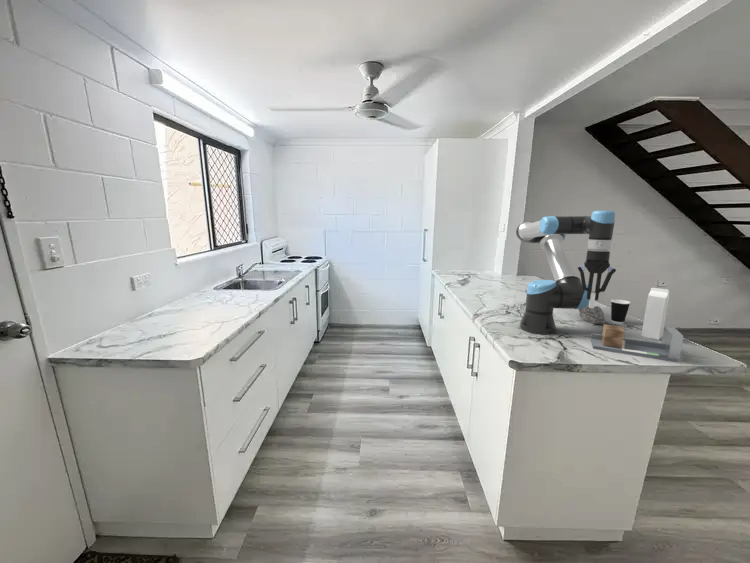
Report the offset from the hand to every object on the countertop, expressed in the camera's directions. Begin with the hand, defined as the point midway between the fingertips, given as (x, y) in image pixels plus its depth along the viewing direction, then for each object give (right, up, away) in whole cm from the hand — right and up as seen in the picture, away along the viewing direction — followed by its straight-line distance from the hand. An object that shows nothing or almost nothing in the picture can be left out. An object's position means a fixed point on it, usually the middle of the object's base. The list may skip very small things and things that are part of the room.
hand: (591, 307), depth 130 cm
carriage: (+8, -15, -2) cm, 17 cm away
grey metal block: (+23, -17, -10) cm, 30 cm away
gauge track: (+13, -17, -4) cm, 22 cm away
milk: (+34, -14, +10) cm, 38 cm away
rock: (+21, -10, +32) cm, 40 cm away
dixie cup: (+34, -10, +30) cm, 46 cm away
